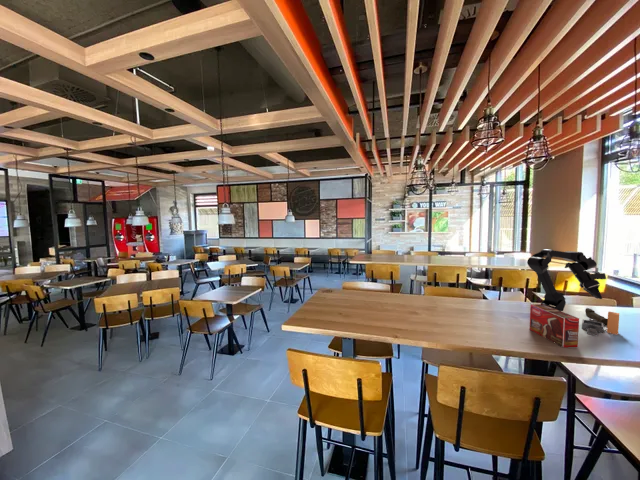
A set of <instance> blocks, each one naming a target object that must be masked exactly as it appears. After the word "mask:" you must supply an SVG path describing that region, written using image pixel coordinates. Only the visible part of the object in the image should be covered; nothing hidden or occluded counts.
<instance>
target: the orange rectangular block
mask: <svg viewBox="0 0 640 480" xmlns="http://www.w3.org/2000/svg"><path fill="white" fill-rule="evenodd" d="M607 319H608V323H607V326H606V327H607V328H606V333H608V334H613V335H616V336H618V335H619V328H620V326H619V324H620V312H614V311H608V313H607Z"/></svg>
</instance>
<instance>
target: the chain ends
mask: <svg viewBox="0 0 640 480" xmlns="http://www.w3.org/2000/svg"><path fill="white" fill-rule="evenodd" d="M581 321H582V322H581V329H583V330H586V334H587V335H591V336H592V335H593V336H596V337H598V333H602V334H604V325H603V323H600V322H598V321H596V320H595V319H593V318H588V319H585V318H584V319H583V318H582V320H581Z"/></svg>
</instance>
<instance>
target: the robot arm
mask: <svg viewBox="0 0 640 480" xmlns="http://www.w3.org/2000/svg"><path fill="white" fill-rule="evenodd" d="M553 257H554V258H559V259H563V260H565V261H567V262H566V263H565V266H564V269H567V268H568V269H569V271H570V272H572V275H574V277H575V279H576V280H578V282H579V286H580V288H581V289H582V290H583V291H585V292H587V293H588V294H590V295H591V296H592V297H594V298H595V299H599V300H603V296H602V294H601V292H600V289H599V287H600V285H601V283H600V282H599V280H607V275H606V273H605V272H602V273H600V272H599V271H597V272H594V273H591V272H589V270H591V269H594V268H596V267H597V262H596V261H595V260H594V259H593V258H592V256H586V255H585V254H584V252H582V251H571V250H570V251H569V250H567V251H562V250H561V251H560V250H553V249H547V248H544V249H542V250H540V251H538V252H536V253H534V254H532V255H531V256H530V257H529V258H528V259H527V262H526V263H527V266H528V267H529V269H531V270H532V271H534V272H535V274H536V276H537V278H538V279H539V281H540V284H541V286H542V288H543V290H544V291H543V292H544V299H543V300H542V301H541V302H540V304H542V305H546V306H549V307H551V308H554V309H556V310H559V311H561V312H564V309H565V306H566V303H567V302H566V298H565V296H564V293H562V292H558V291H557V289H556V287H555V285H554V282H553V280H552V278H551V277H550V274H549V272H548V269H549V264H550V263H551V262H552V258H553Z"/></svg>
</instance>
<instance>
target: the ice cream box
mask: <svg viewBox="0 0 640 480" xmlns="http://www.w3.org/2000/svg"><path fill="white" fill-rule="evenodd" d="M529 307H530V309H529V310H530V312H529V330H530V331H532V332H533V333H535V334H537V335H539V336H541V337H543V338H545V339H547V340H548V341H550V342H552V343H554V342H555V343H556V344H555V343H554V344H555V345H557V344H558V346H559V345H560V347H561V346H562V347H561V348H568V347H578V348H579V345H578V344H579V332H580V331H579V329H580V328H579V327H580V317H576V316H575V315H571V314H569V313H566V312H564V311H559V310H556V309H554V308H551V307H549V306H546V305H542V304H541V303H540V304H539V303H538V304H534V303H533V304H530V306H529Z"/></svg>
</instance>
